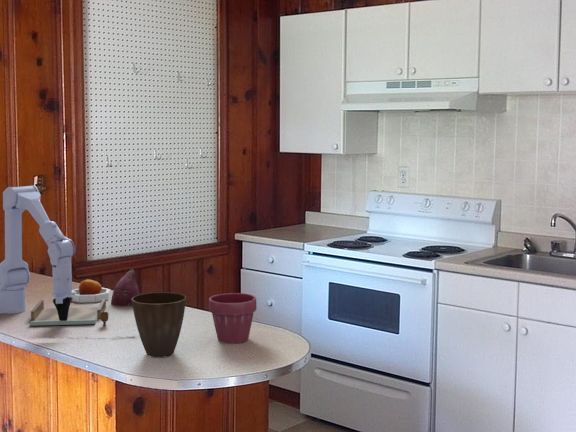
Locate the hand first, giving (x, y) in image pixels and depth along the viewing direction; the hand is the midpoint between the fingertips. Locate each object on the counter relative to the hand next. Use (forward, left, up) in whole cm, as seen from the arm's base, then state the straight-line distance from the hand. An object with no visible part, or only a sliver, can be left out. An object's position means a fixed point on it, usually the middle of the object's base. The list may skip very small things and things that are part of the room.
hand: (63, 320), depth 247 cm
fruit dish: (+3, +40, -2) cm, 41 cm away
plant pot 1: (+31, -32, -2) cm, 44 cm away
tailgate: (0, +4, -1) cm, 4 cm away
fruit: (+3, +40, -2) cm, 41 cm away
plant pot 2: (+52, -20, -2) cm, 56 cm away
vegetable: (+17, +26, -2) cm, 32 cm away
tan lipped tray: (0, +12, -2) cm, 13 cm away
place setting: (+24, -2, -3) cm, 24 cm away
